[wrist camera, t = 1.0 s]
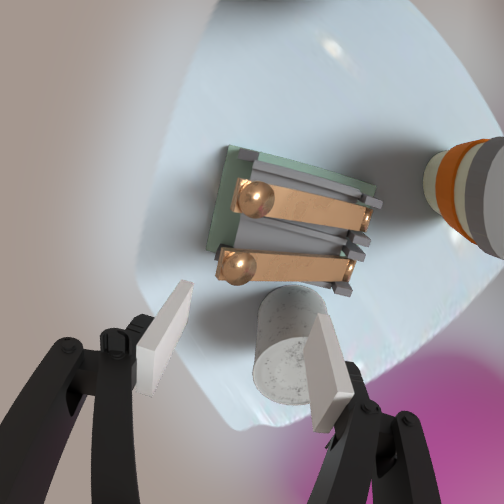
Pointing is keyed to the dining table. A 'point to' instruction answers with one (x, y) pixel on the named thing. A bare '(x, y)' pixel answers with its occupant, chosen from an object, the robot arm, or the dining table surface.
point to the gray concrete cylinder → (285, 343)
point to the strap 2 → (280, 266)
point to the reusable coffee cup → (470, 191)
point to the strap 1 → (297, 206)
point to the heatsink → (281, 230)
